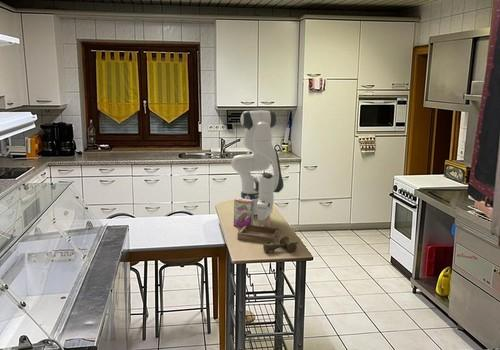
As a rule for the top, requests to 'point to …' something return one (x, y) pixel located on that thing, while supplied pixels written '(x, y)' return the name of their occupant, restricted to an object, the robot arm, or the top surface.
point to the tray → (258, 234)
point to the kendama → (281, 245)
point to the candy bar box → (243, 212)
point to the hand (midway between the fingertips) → (265, 223)
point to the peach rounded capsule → (267, 222)
